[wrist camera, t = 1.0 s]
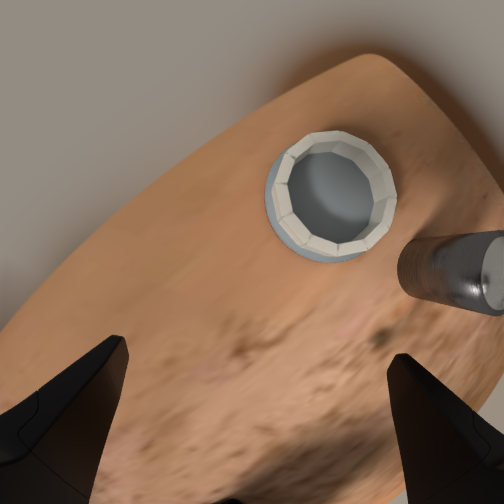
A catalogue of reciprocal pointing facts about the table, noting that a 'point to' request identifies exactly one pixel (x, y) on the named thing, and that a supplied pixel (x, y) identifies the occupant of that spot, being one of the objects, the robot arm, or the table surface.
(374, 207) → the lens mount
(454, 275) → the lens
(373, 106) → the table surface
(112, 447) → the table surface
